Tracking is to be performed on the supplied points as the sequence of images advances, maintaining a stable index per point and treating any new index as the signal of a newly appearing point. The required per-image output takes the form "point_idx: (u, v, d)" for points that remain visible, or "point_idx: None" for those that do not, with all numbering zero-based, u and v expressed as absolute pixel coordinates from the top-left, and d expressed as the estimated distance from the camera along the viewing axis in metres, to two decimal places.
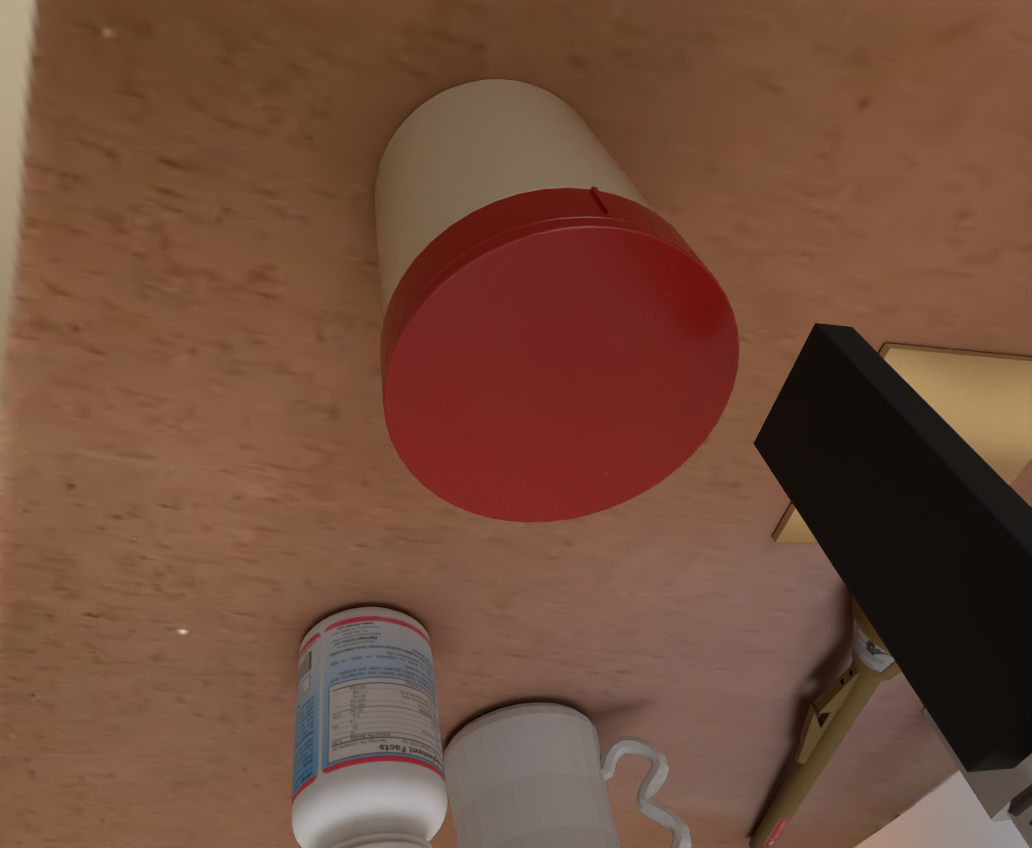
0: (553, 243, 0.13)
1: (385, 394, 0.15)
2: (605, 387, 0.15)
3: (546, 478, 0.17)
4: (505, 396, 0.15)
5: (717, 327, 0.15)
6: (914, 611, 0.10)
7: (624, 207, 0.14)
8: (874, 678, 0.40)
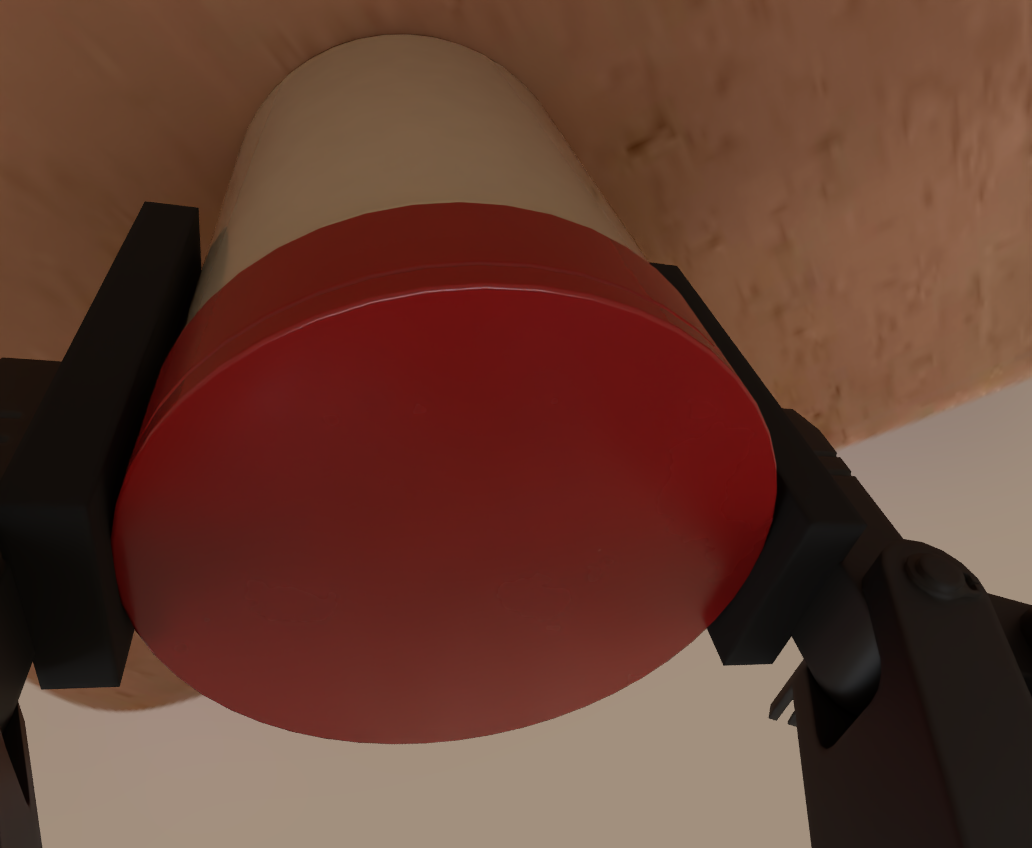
0: (315, 725, 0.10)
1: (627, 685, 0.11)
2: (406, 552, 0.08)
3: (635, 467, 0.08)
4: (532, 618, 0.09)
5: (153, 536, 0.07)
6: None
7: None
8: None
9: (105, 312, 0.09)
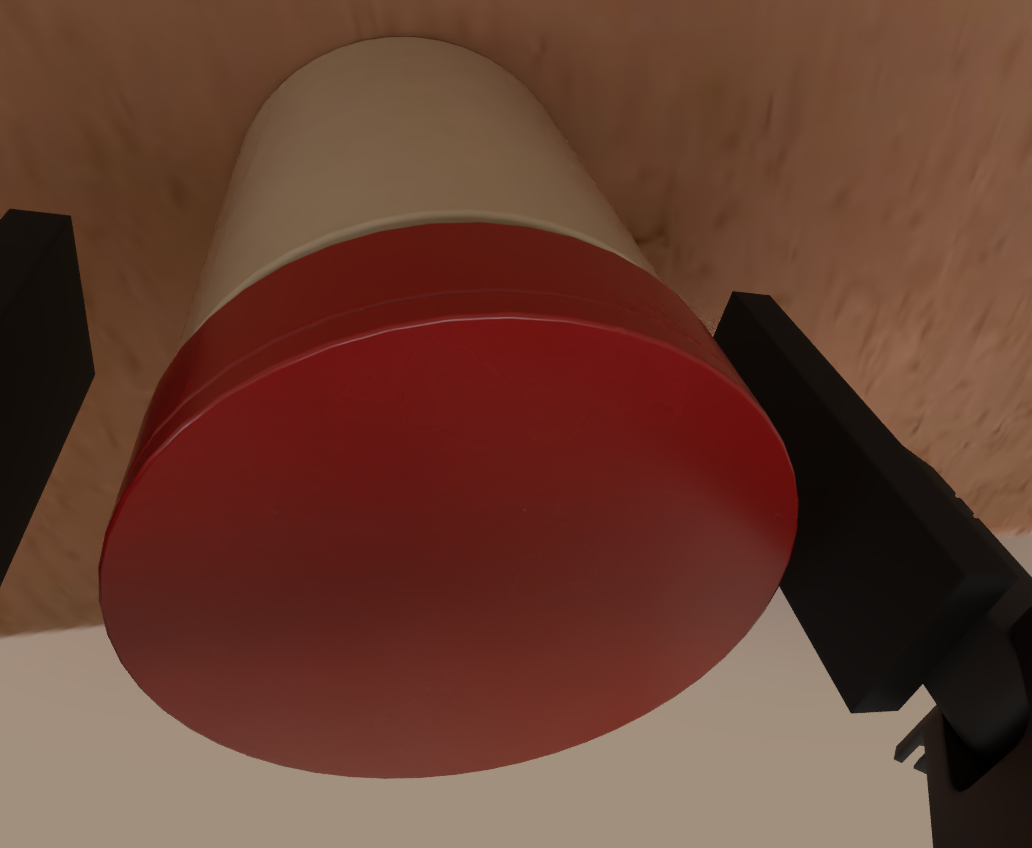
0: (592, 730, 0.10)
1: (796, 517, 0.08)
2: (410, 640, 0.08)
3: (415, 461, 0.07)
4: (586, 576, 0.08)
5: (290, 750, 0.09)
6: (809, 562, 0.11)
7: None
8: None
9: None
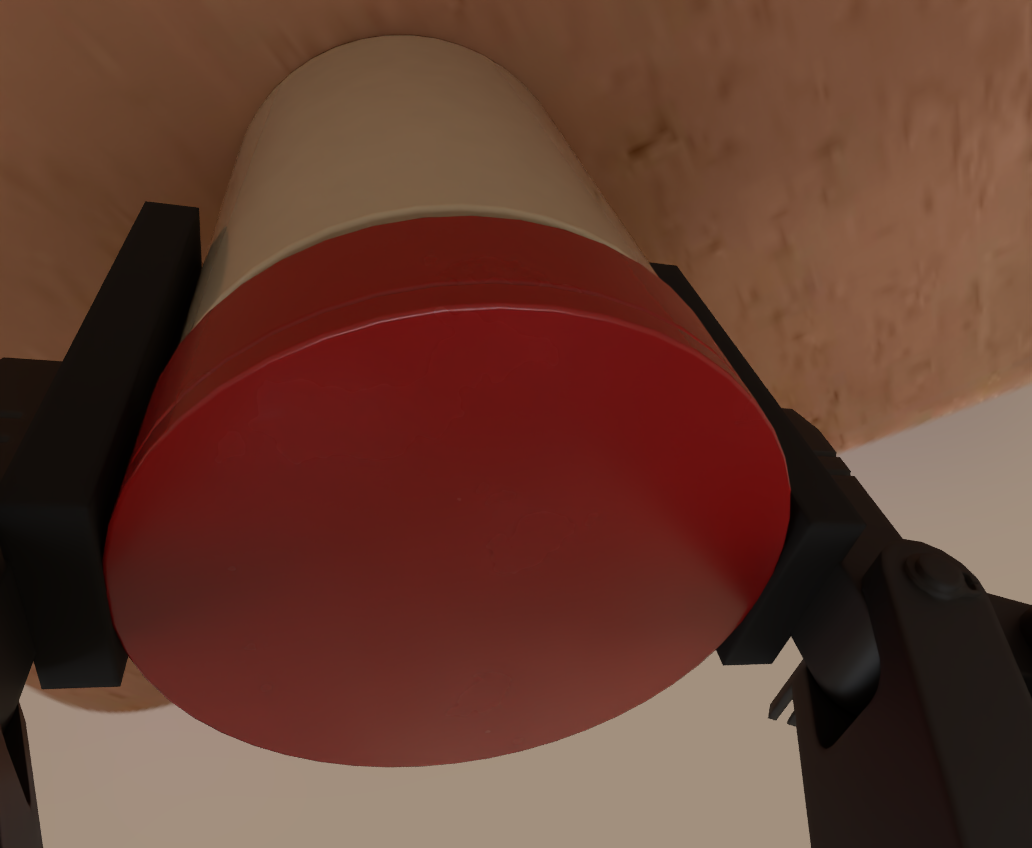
0: (671, 672, 0.10)
1: (763, 418, 0.07)
2: (430, 638, 0.09)
3: (325, 489, 0.07)
4: (565, 539, 0.08)
5: (385, 753, 0.10)
6: None
7: None
8: None
9: (106, 312, 0.09)
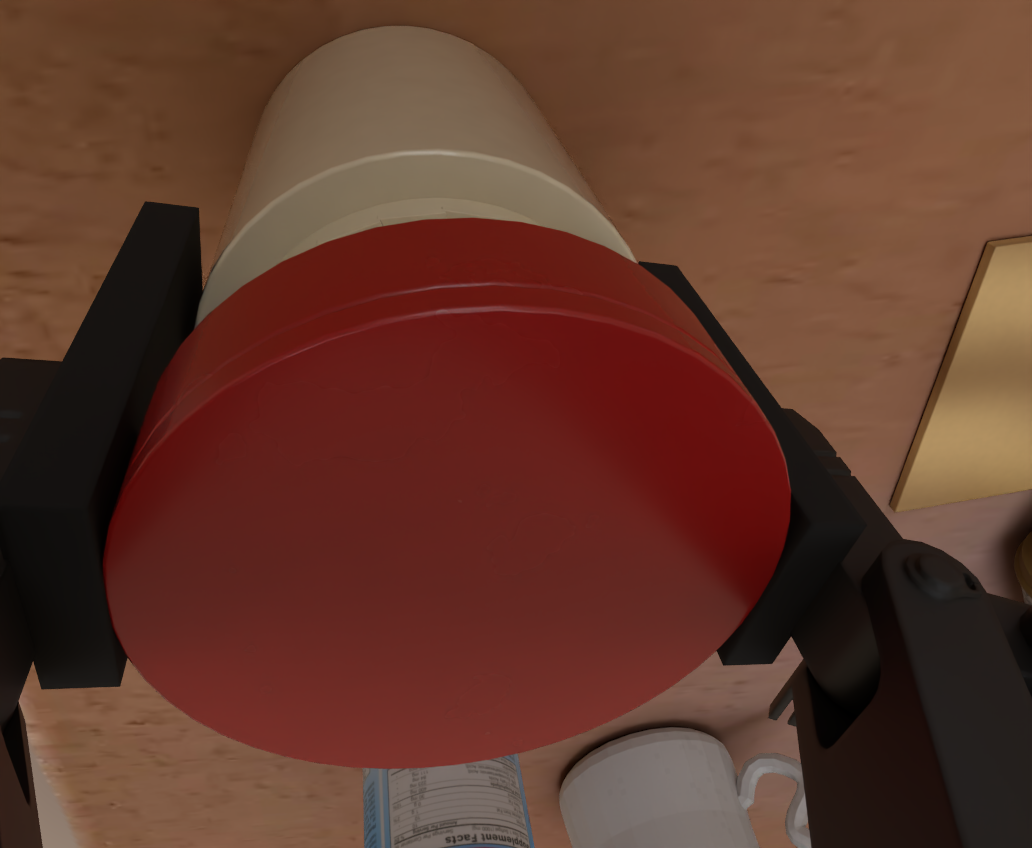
0: (671, 674, 0.10)
1: (764, 420, 0.07)
2: (430, 640, 0.09)
3: (326, 491, 0.07)
4: (566, 541, 0.08)
5: (385, 755, 0.10)
6: None
7: None
8: None
9: (106, 312, 0.09)
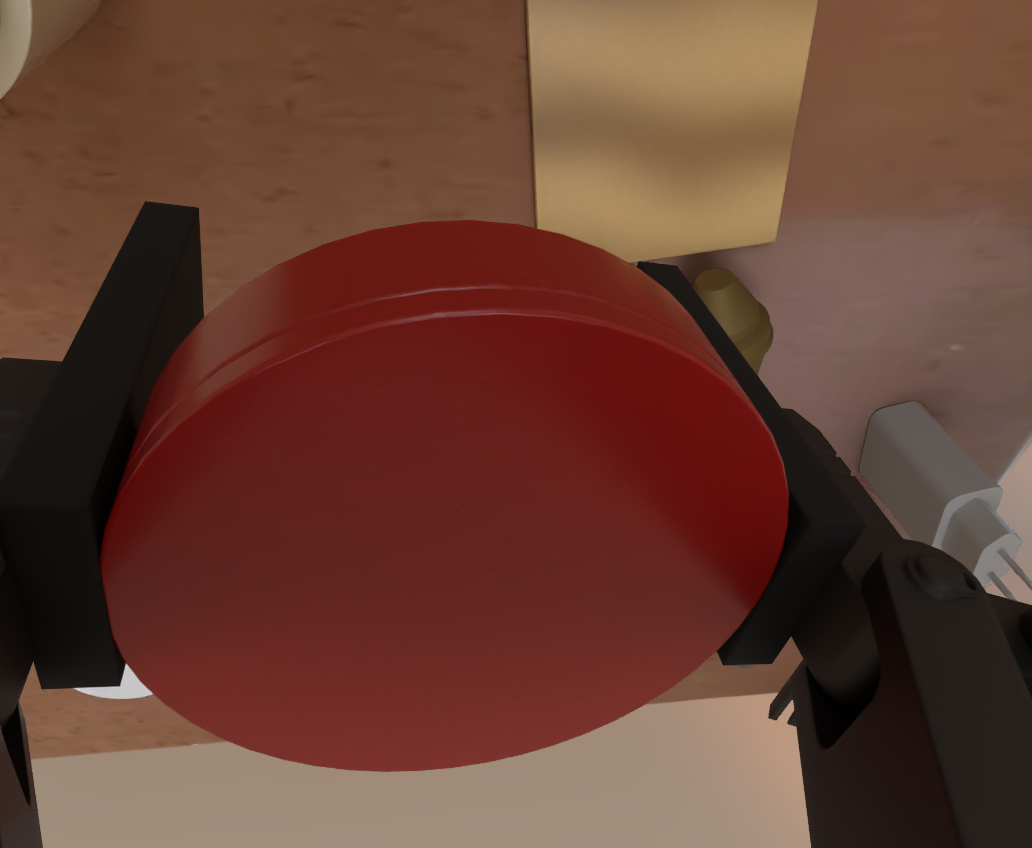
0: (669, 676, 0.10)
1: (762, 423, 0.07)
2: (427, 643, 0.09)
3: (322, 495, 0.07)
4: (563, 545, 0.08)
5: (383, 758, 0.10)
6: None
7: None
8: None
9: (106, 312, 0.09)
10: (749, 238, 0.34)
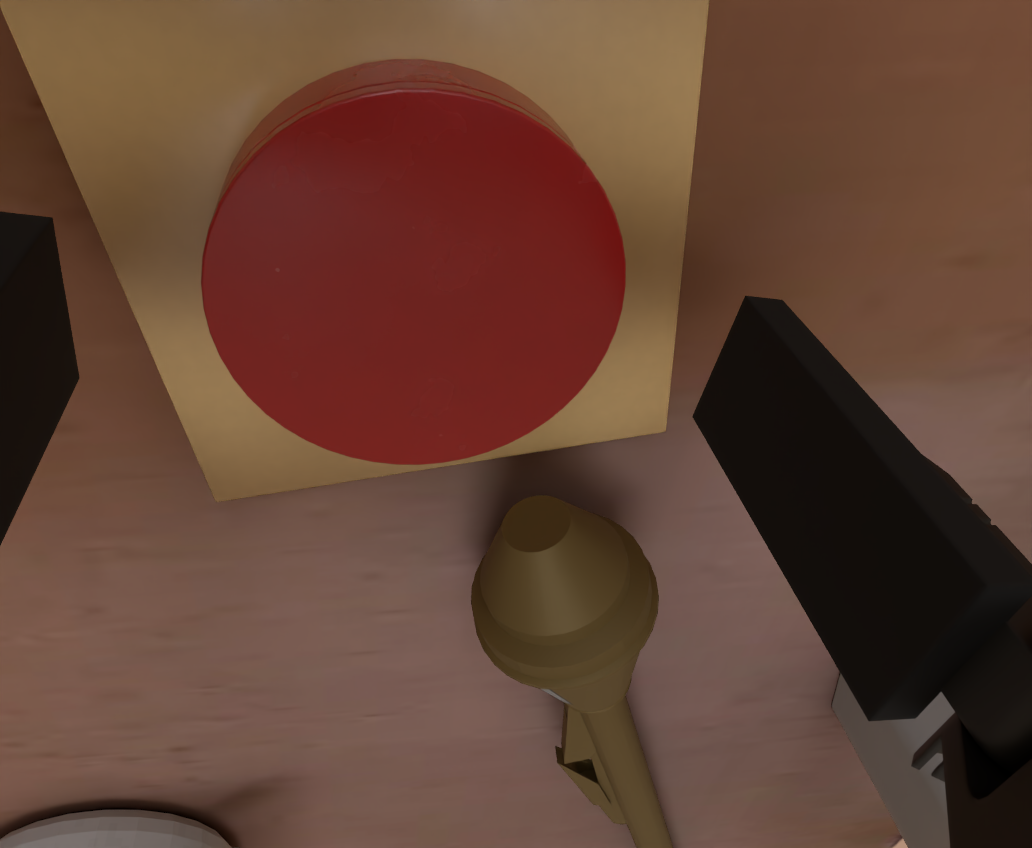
0: (563, 393, 0.15)
1: (596, 181, 0.12)
2: (399, 343, 0.14)
3: (333, 212, 0.12)
4: (481, 266, 0.13)
5: (371, 447, 0.15)
6: (825, 569, 0.11)
7: None
8: (581, 711, 0.21)
9: None
10: (616, 428, 0.18)
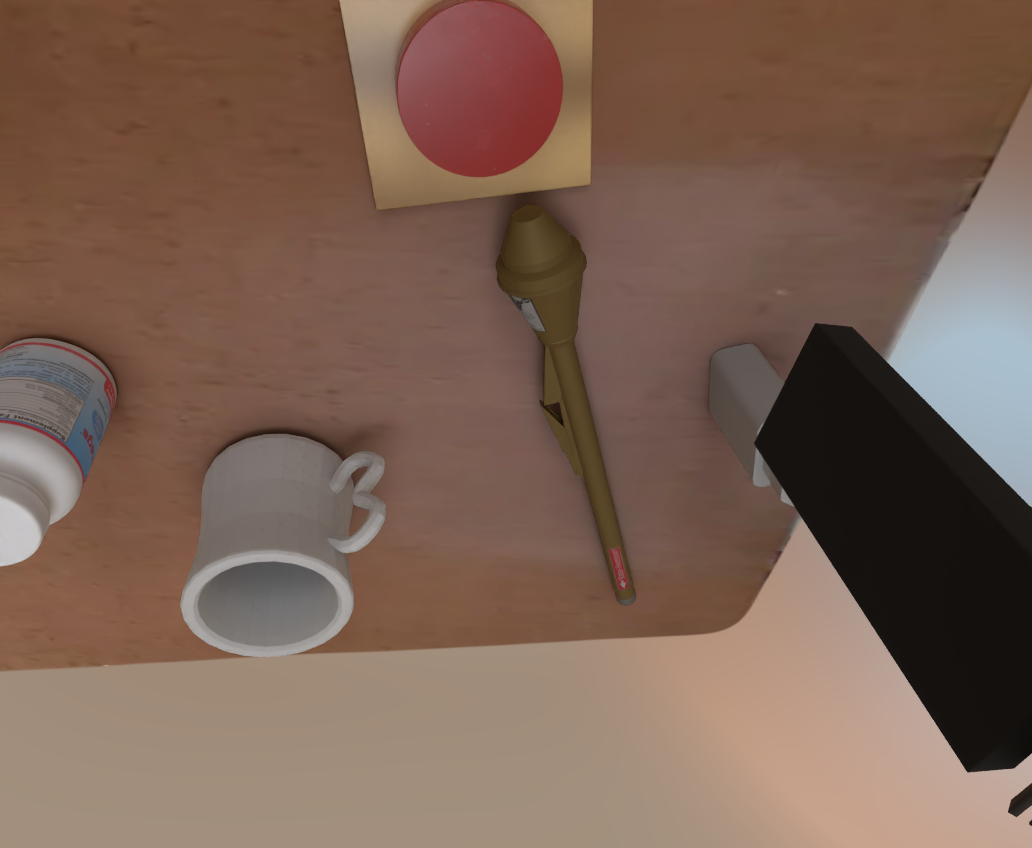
0: (538, 142, 0.35)
1: (548, 39, 0.32)
2: (470, 111, 0.33)
3: (449, 49, 0.32)
4: (504, 76, 0.33)
5: (455, 165, 0.35)
6: (914, 611, 0.10)
7: None
8: (551, 343, 0.41)
9: None
10: (565, 180, 0.38)
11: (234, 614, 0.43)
